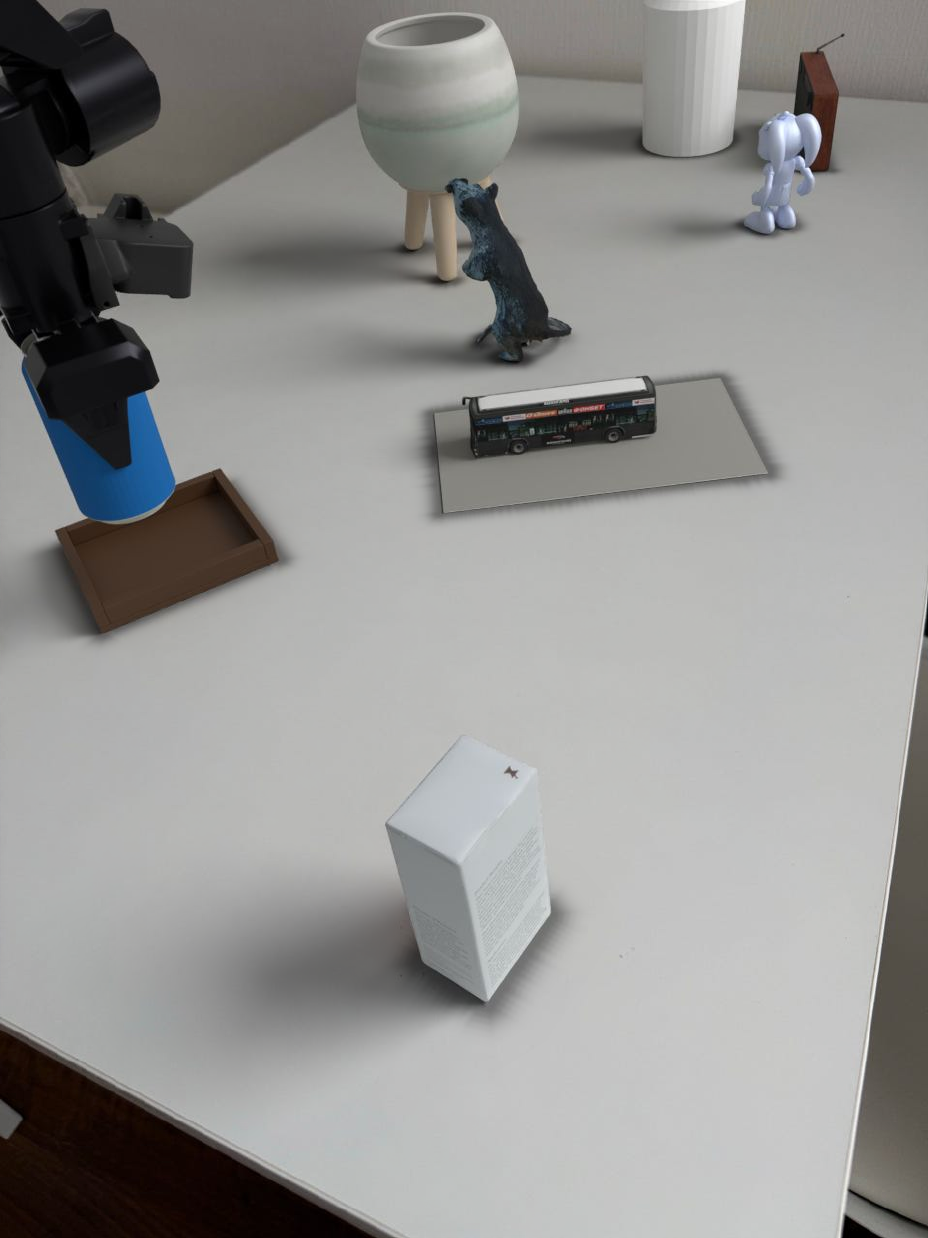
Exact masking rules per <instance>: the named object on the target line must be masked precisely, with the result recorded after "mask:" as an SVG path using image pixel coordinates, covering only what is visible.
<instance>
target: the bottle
mask: <svg viewBox="0 0 928 1238" xmlns="http://www.w3.org/2000/svg"><path fill="white" fill-rule="evenodd" d="M746 1H747V0H642V146H643V148H644V149H645V150H647V151H649V152H650V153H653V154H656V155H660V156H664V157H672V158H673V157H674V158H688V157H689V158H691V157H700V156H706V155H710V154H711V155H712V154H714V153H717V152H720V151H722V150H724V149H726V148H728V147H729V146H730V145H731V144H732V143H733V141H734V131H735V119H736V109H737V98H738V89H739V76H740V67H741V66H740V65H741V57H742V45H743V34H744V23H745V12H746Z"/></svg>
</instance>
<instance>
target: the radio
mask: <svg viewBox="0 0 928 1238" xmlns="http://www.w3.org/2000/svg"><path fill="white" fill-rule="evenodd" d="M843 37H845V33H841V34H840V35H839V36H837V37H836V38H834V39H831V40H829V41H828V42H826V43H824V44H821V45H820V46H818V47H816V51H802V52H799V60H798V68H797V69H798V70H797V77H796V78H797V79H796V88H795V98H794V105H793V106H794V107H793V113H792V114H793V115H795V116H796V117H797V116H799V115H801V114H811V115H813V116H814V117H815V118H816V120H817V121H818V124H819V126H820V130H821V143H820V148H819V151H818V154H817V156H816V158H815V160H814V162H813V163H812V164H811V165H810V166H809V167H808V168H809V169H810V170H811V172H816V171H819V172H820V171H829V170H830V163H831V155H832V149H833V141H834V133H835V127H836V119H837V113H838V105H839V97H840V92H839V89H838V86H837V83H836V80H835V78H834V76H833V73H832V70H831V68H830V65H829V62H828V60H827V57H826V54H825V52H824V50H822V49H823V48H825V47H827V46H828V45H830V44H833V43H834V42H835V41H837V40H838V39H840V38H843ZM799 156H801V157H802V158H803V159H804V161H805V150H804V146H803V148H802V149H801V151H800V152H799Z"/></svg>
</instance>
